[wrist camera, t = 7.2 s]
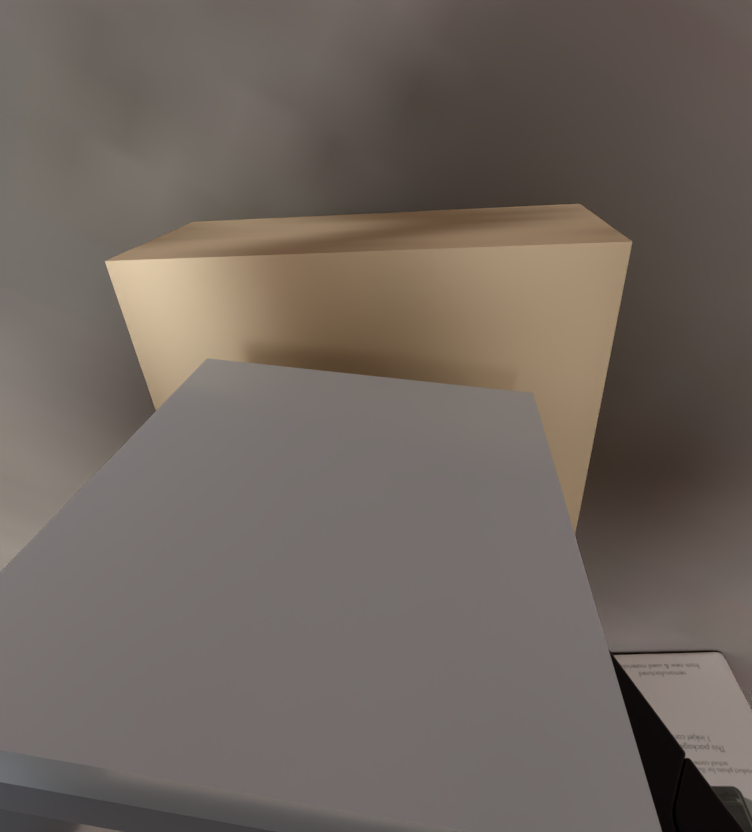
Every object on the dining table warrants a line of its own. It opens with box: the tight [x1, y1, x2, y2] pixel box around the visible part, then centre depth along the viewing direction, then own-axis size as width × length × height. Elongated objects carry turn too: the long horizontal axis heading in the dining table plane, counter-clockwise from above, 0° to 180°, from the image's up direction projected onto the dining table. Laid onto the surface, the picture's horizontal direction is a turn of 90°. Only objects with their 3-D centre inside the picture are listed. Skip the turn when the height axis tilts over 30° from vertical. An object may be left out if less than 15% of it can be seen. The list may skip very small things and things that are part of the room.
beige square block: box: [105, 204, 632, 534], centre depth 12 cm, size 9×9×4 cm
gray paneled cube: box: [0, 358, 662, 832], centre depth 7 cm, size 6×6×6 cm
